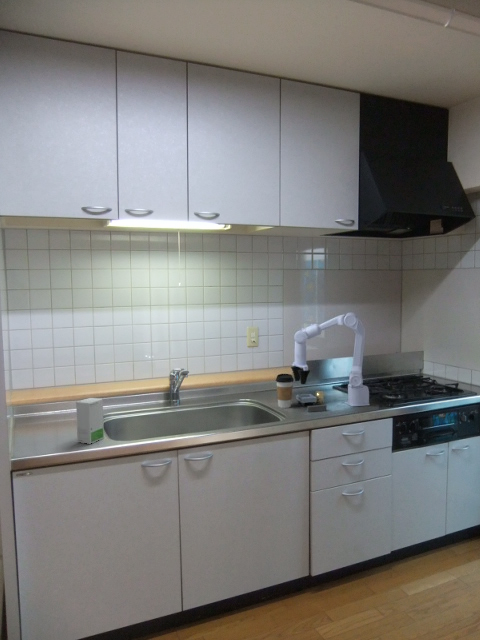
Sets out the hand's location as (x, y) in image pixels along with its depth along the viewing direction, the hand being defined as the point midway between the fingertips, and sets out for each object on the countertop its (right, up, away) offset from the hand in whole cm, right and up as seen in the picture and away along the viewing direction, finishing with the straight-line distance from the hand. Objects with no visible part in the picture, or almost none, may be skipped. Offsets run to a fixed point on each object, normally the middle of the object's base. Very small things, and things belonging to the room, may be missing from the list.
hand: (300, 382), depth 236 cm
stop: (+6, -11, -16) cm, 20 cm away
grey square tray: (+2, -10, -4) cm, 11 cm away
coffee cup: (-9, -11, -8) cm, 16 cm away
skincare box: (-86, -15, -54) cm, 103 cm away
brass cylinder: (+9, -10, -2) cm, 14 cm away
